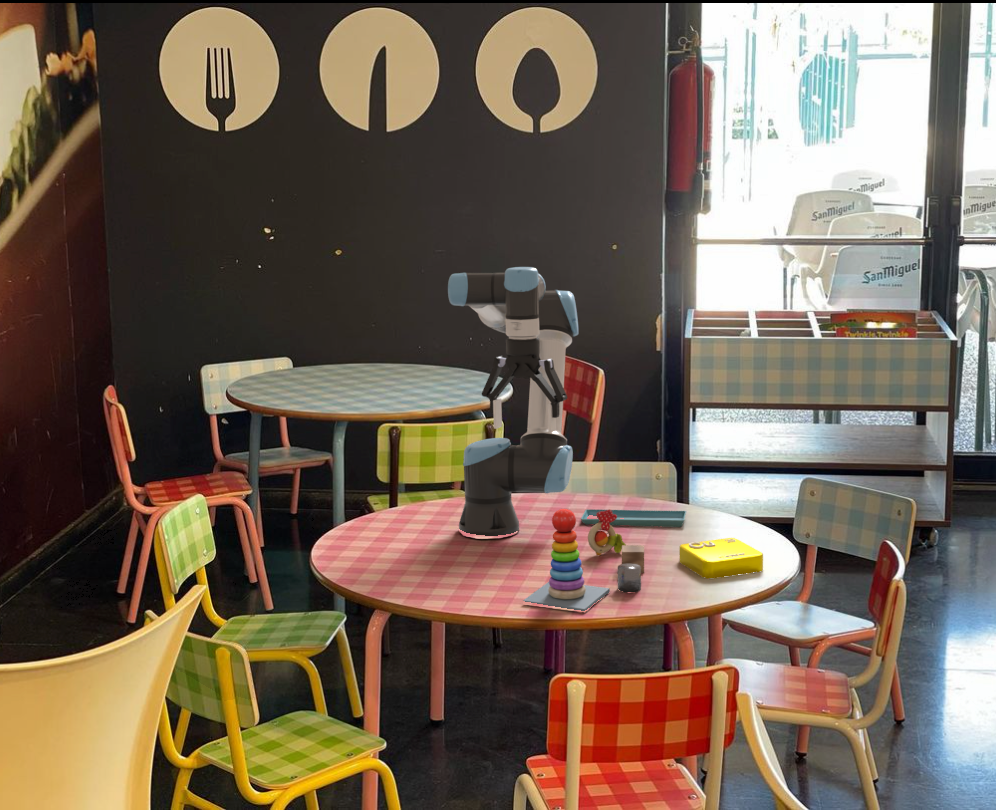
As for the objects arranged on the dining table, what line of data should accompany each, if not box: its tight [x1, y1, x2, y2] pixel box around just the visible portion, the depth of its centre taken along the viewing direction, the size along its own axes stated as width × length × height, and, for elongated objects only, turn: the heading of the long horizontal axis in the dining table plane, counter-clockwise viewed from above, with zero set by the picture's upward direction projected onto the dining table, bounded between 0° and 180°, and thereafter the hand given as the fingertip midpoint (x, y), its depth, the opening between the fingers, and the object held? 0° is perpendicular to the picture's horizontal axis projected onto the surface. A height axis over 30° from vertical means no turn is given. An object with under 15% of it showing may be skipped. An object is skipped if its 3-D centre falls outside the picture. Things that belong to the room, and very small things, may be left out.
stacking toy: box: [548, 508, 586, 599], centre depth 282 cm, size 8×8×19 cm
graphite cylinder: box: [617, 563, 642, 593], centre depth 289 cm, size 5×5×5 cm
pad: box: [522, 581, 611, 611], centre depth 284 cm, size 14×14×1 cm
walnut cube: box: [621, 544, 645, 574], centre depth 302 cm, size 5×5×5 cm
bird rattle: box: [587, 509, 627, 556], centre depth 314 cm, size 6×11×9 cm
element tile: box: [678, 537, 764, 579], centre depth 303 cm, size 15×15×5 cm
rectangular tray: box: [580, 508, 687, 528], centre depth 340 cm, size 26×9×2 cm, turn 78°
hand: (524, 429), depth 303 cm, fingers open, 13 cm apart
